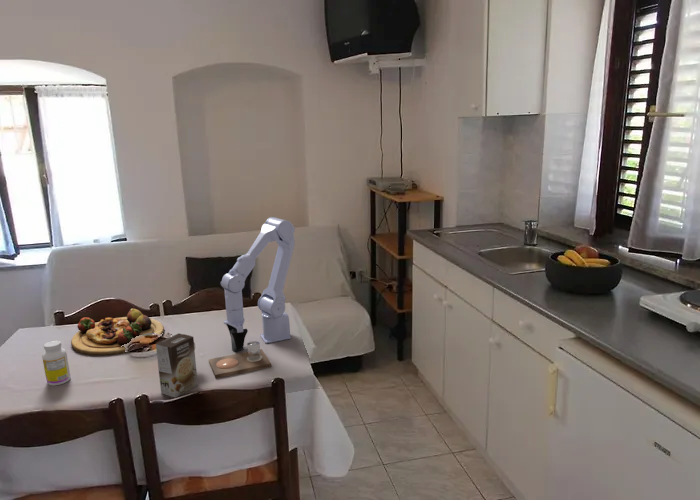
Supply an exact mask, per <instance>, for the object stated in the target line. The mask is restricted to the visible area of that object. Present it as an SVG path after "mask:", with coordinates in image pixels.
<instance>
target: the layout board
mask: <svg viewBox="0 0 700 500" xmlns="http://www.w3.org/2000/svg"><path fill="white" fill-rule="evenodd" d="M260 344H261V343H260V341H255V340H254V341H249V342H247V346H246V347H247V351H244V352H240V353H239V352H238V353H235V354H230V355H225V356H219V357H214V358H209V359H208V365H209V366H210V369H211V371H212V373H213V376H214V378H215V379H219V378H224V377H229V376H234V375H239V374H242V373H247V372H254V371H257V370H262V369H267V368H271V367H272V362H271V361H270V359H269V357H268V356H267V355H266V353H265V352H264V350H263V349H262V348H261V345H260Z"/></svg>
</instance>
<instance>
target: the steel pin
mask: <svg viewBox="0 0 700 500" xmlns="http://www.w3.org/2000/svg"><path fill="white" fill-rule="evenodd" d="M233 330H236V329H233ZM230 341H231V342H230V343H231V351H232V352H234V353H239V352H240V353H241V352H242V351H244V346H243V349H237V348H236V345H235V341H234V338H233V335H232V334H231V336H230Z"/></svg>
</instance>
